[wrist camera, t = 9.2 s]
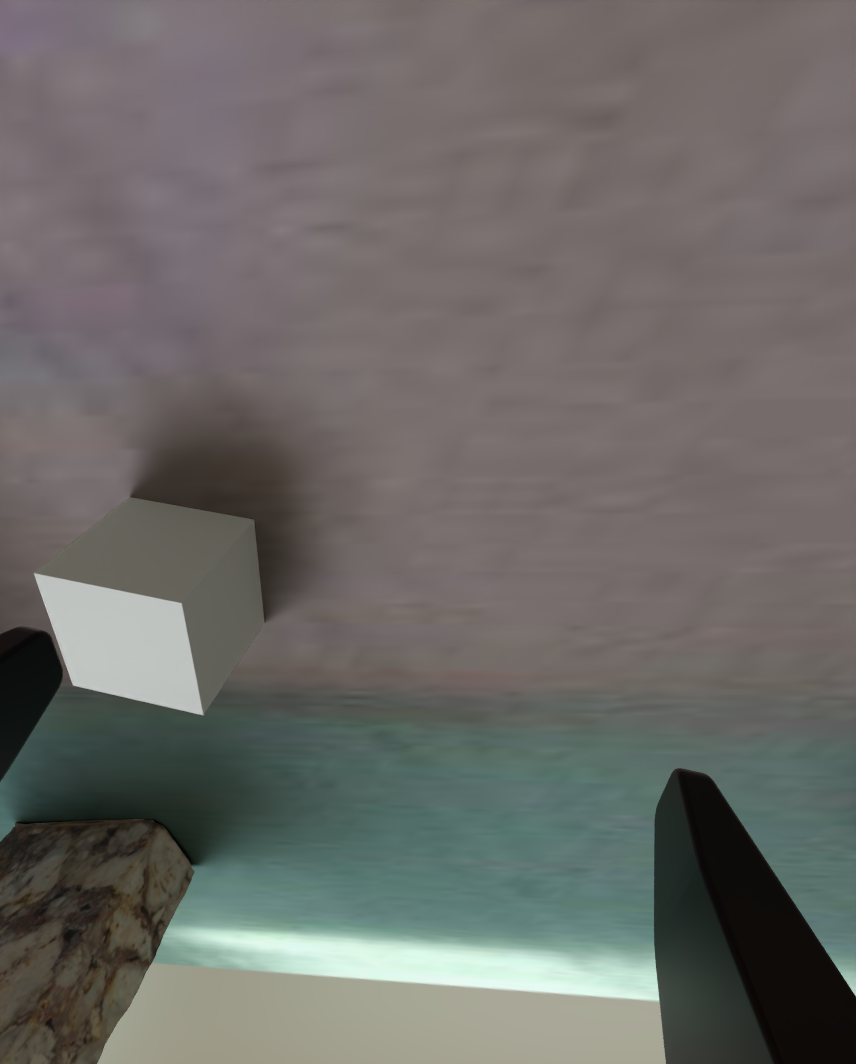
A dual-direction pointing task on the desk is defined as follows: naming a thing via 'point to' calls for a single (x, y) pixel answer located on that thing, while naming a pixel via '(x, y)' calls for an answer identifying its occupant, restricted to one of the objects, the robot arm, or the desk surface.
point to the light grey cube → (156, 602)
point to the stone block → (80, 931)
